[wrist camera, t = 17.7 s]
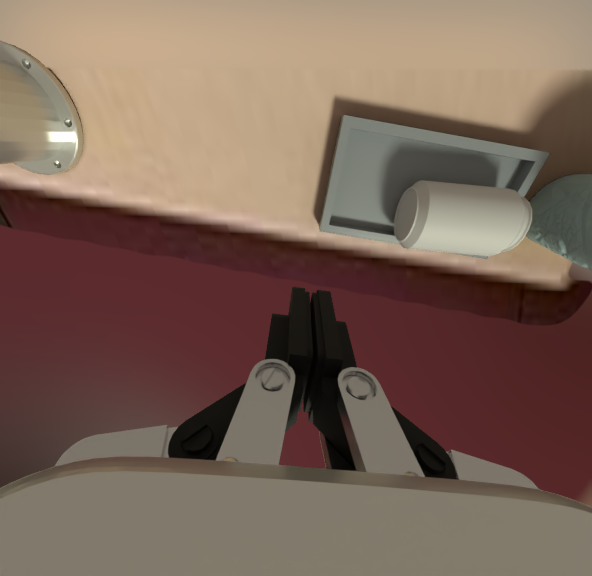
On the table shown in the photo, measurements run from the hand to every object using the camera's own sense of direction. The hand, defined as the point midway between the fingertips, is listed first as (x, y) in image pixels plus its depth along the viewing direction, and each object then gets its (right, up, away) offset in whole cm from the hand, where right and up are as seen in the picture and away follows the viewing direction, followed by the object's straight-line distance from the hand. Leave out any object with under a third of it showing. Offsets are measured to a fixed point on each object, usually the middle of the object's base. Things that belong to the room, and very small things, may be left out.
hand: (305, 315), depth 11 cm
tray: (+15, +13, +20) cm, 28 cm away
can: (+12, +10, +17) cm, 23 cm away
